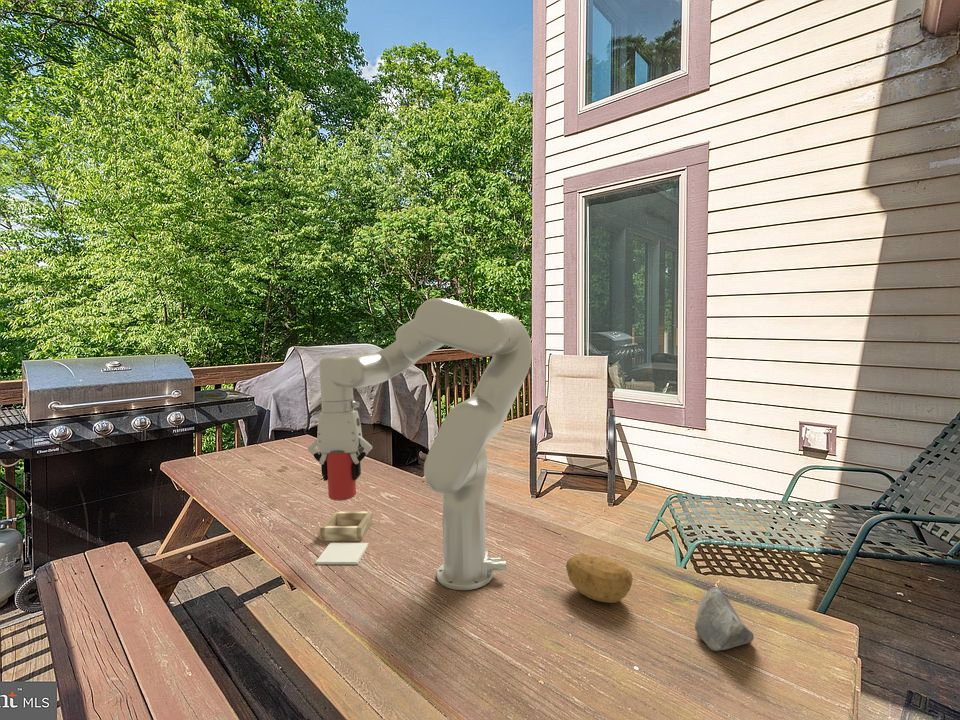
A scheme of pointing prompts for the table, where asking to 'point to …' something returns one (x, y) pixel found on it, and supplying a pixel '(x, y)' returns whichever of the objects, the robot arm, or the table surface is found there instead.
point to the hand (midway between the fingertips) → (341, 478)
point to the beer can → (340, 476)
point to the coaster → (342, 553)
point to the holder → (346, 533)
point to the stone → (720, 623)
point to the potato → (599, 577)
